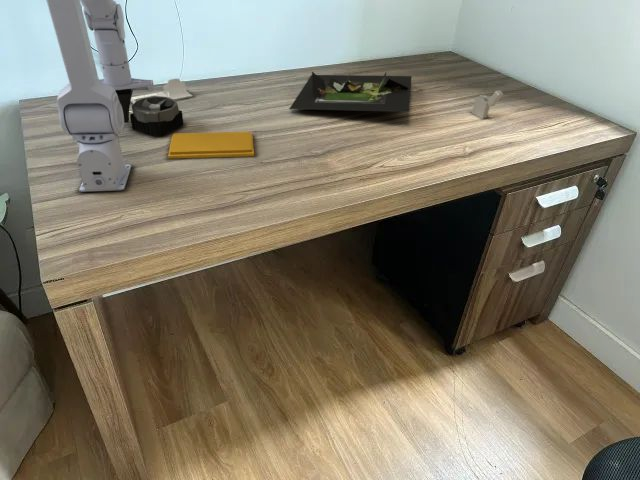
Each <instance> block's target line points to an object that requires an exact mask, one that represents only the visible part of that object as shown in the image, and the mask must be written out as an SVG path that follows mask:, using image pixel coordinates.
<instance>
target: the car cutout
mask: <svg viewBox="0 0 640 480" xmlns="http://www.w3.org/2000/svg"><path fill="white" fill-rule="evenodd" d="M162 89H163V90H162V91H158V92H157V91H156V92H151V93H145V94H140V95H134V96H132V97H131V101H130V103H132V105H133V104H134V103H135V102H136V101H138V100H140V99H142V98H146V97H155V96H162V97H170V98H172V99H174V100H176V101H180V100H186V99H191V98H193V97H194V96H193V94H192V93H190V92H189V91H187V90H188V88H187V85H186V82H185V81H181V80H180V79H179V78H172V79H169V80H167V83H166V84H164V85H163V88H162Z"/></svg>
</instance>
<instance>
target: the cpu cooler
mask: <svg viewBox="0 0 640 480" xmlns="http://www.w3.org/2000/svg"><path fill="white" fill-rule="evenodd" d="M131 110H132V113H129V121H130V124H131V127H132V130H135V131H138V132H140V133H144V134H146V135H147V134H148V135H150V136H153V137H158V136H159V137H162V136H165V135H167V134H169V133H171V132H173V131H175V130H177V129H179V128H181V127H183V126H184V116H183V111H182V110H180V109H179V105H178V102H177V100H174V99H172V98H170V97H162V96H155V97H146V98H142V99H140V100H138V101H136V102H135V103H134V104H133V103H132V105H131Z"/></svg>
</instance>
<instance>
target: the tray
mask: <svg viewBox="0 0 640 480" xmlns="http://www.w3.org/2000/svg"><path fill="white" fill-rule="evenodd" d="M169 144H170V145H169V149H168V155H167V158H168V159H169V160H177V159H178V160H179V159H202V158H203V159H205V158H208V159H209V158H210V159H211V158H237V157H241V158H242V157H255V150H254V148H255V147H254V139H253V133H251V131H225V132H223V131H221V132H219V131H218V132H183V133H181V132H180V133H173V135H171V139H170V143H169Z"/></svg>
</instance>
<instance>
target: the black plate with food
mask: <svg viewBox="0 0 640 480" xmlns="http://www.w3.org/2000/svg"><path fill="white" fill-rule="evenodd" d="M412 77H413V76H412V75H387V72H384V74H383V75H361V74H360V75H358V74H357V75H355V74H353V75H352V74H349V75H348V74H343V75H342V74H316V73H315V72H314V71H311V75H310V76H309V78H308V80H306V83H305V84H304V85H303V87H302V88H301V90H300V92H299V94H298V95H297V96H296V98H295V99H294V101H293V102H292V104H291V105H290V107H289V110H312V111H313V110H314V111H315V110H318V111H356V112H358V111H359V112H360V111H361V112H394V113H395V112H397V113H398V112H399V113H400V112H401V113H409V111H410V102H411V91H412V90H411V89H412V79H413V78H412Z"/></svg>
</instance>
